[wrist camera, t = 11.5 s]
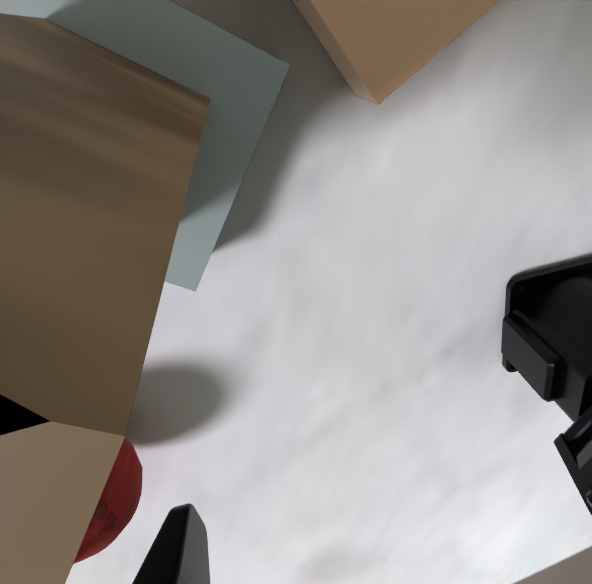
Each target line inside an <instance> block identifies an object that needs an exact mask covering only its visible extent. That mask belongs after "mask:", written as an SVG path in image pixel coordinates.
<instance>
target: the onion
mask: <svg viewBox="0 0 592 584" xmlns="http://www.w3.org/2000/svg"><path fill="white" fill-rule="evenodd" d="M141 489H142V466H141V463H140V461H139V459H138V456H137V454H136V452H135V449H134V447H133V445H132V444H131V443H130V442H129V441H127V440H126V439H125V438H124V440H123V443H122V445H121V448H120V450H119V453H118V455H117V457H116V460H115V462H114V465H113V467H112V470H111V472H110V475H109V477H108V479H107V482H106V484H105V487H104V489H103V492H102V494H101V497H100V499H99V502H98V504H97V506H96V509H95V511H94V514H93V516H92V519H91V521H90V524H89V526H88V528H87V531H86V533H85V536H84V538H83V541H82V543H81V546H80V548H79V550H78V553H77V555H76V558H75V560H74V563H77V562H80V561H82V560H84V559H86V558H88V557H91V556H93V555H95V554H97V553H99V552H100V551H102V550H103V549H105V548H106V547H107V546H108V545H110V544H111V543H112V542H113V541H114V540H115V539H116V538H117V536H118V535H119V534H120V533H121V532H122V530H123V529H124V528H125V527H126V525H127V524H128V523H129V522H130V520H131V519H132V517H133V515H134V513H135V511H136V509H137V506H138V503H139V500H140V496H141ZM74 563H73V564H74Z"/></svg>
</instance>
